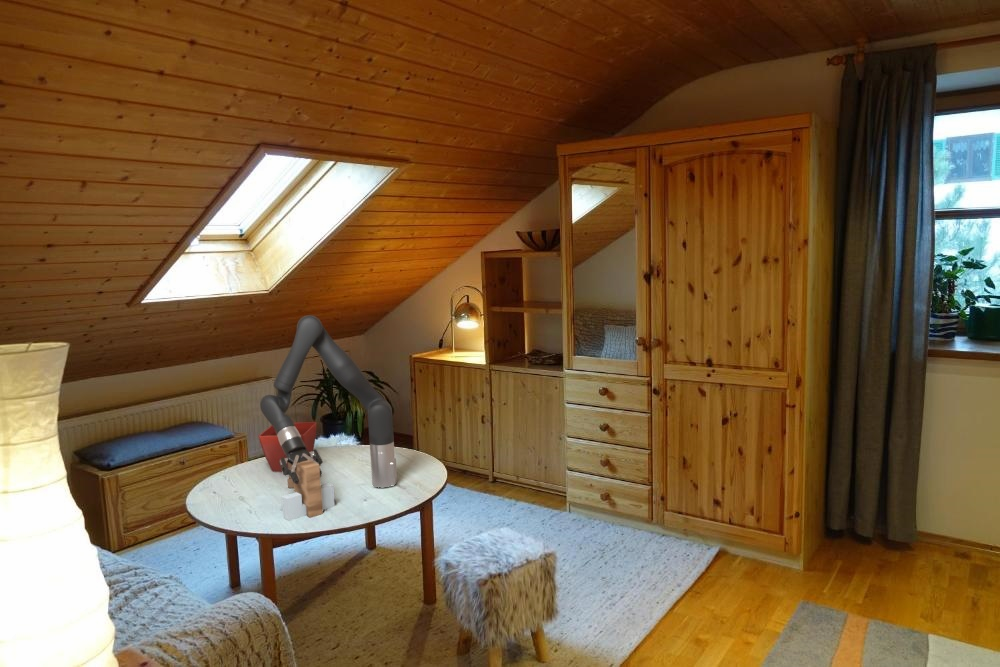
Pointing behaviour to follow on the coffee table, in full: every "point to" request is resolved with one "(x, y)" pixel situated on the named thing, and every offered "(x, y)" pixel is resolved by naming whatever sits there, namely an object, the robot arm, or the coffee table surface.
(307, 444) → the plant pot
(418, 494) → the coffee table surface
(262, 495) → the coffee table surface
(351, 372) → the robot arm
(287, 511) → the white notched u-shaped brace
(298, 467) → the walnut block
